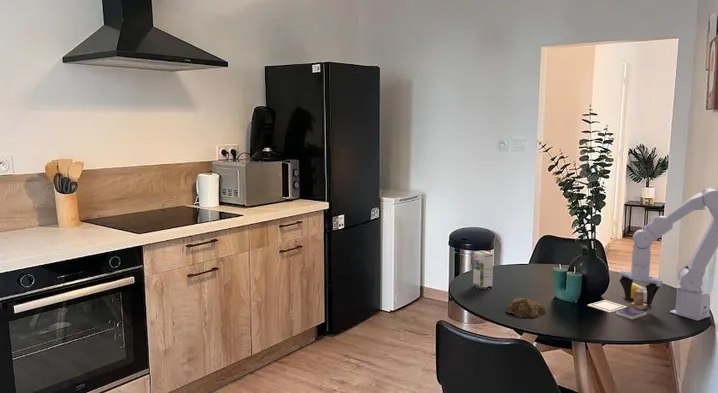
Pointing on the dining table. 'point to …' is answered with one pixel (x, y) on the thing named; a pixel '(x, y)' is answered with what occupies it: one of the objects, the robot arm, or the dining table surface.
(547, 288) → the dining table surface
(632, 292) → the supplement bottle
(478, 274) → the syrup box
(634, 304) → the stamp
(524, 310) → the brown speckled mound
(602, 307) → the print sheet
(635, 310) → the ink pad
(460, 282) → the dining table surface
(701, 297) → the robot arm
